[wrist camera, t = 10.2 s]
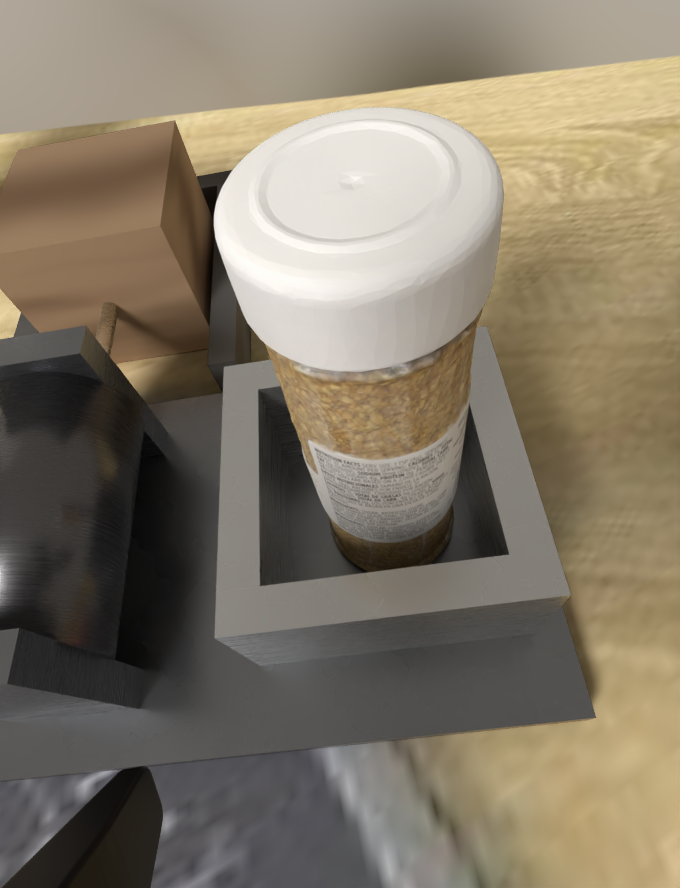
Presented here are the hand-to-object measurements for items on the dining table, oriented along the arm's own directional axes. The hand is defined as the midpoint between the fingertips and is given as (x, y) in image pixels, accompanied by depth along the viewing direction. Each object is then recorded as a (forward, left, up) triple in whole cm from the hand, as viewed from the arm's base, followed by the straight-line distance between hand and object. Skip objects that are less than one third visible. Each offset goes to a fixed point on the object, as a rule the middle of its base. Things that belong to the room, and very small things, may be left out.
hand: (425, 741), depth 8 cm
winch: (+10, +4, -9) cm, 14 cm away
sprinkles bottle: (+7, 0, -9) cm, 11 cm away
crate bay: (+22, +11, -9) cm, 26 cm away
